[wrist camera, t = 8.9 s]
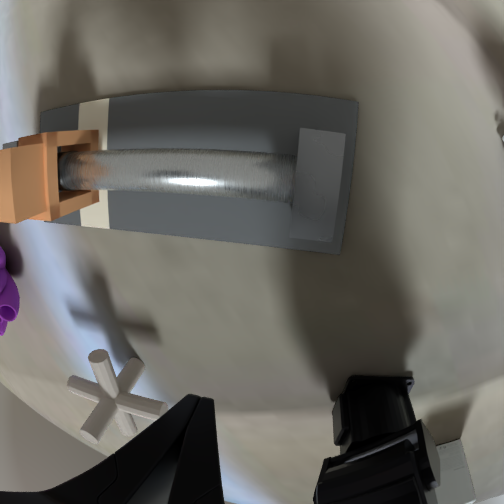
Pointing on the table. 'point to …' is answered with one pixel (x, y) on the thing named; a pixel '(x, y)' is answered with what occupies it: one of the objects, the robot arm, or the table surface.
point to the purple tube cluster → (7, 295)
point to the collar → (42, 177)
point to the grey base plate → (208, 137)
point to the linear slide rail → (223, 176)
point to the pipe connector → (113, 397)
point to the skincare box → (454, 475)
